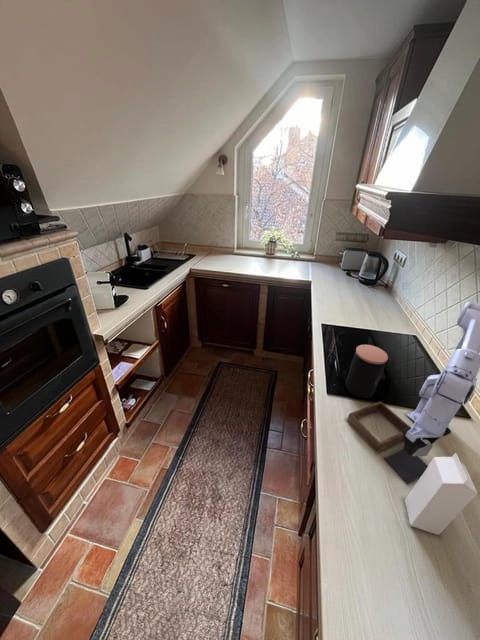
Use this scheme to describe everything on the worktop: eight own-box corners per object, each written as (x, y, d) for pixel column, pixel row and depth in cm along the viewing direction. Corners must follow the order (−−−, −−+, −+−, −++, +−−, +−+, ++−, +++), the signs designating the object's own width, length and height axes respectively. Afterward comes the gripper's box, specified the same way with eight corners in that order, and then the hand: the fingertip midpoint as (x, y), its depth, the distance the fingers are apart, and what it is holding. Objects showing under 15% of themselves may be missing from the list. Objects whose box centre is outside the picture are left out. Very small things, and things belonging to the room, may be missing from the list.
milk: (410, 526, 61) (449, 474, 50) (404, 499, 66) (439, 447, 55) (439, 535, 60) (486, 485, 49) (431, 508, 65) (472, 456, 54)
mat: (407, 447, 79) (407, 446, 79) (431, 470, 73) (431, 469, 73) (384, 459, 76) (384, 458, 76) (407, 484, 70) (407, 483, 69)
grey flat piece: (423, 450, 73) (434, 432, 69) (427, 455, 71) (439, 437, 67) (399, 450, 72) (409, 432, 68) (402, 456, 71) (413, 438, 67)
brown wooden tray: (377, 407, 93) (380, 401, 91) (409, 436, 83) (413, 429, 81) (346, 420, 88) (349, 413, 86) (376, 452, 78) (380, 445, 76)
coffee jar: (375, 402, 95) (390, 365, 86) (345, 395, 98) (356, 358, 89) (372, 383, 104) (385, 347, 95) (344, 377, 106) (355, 342, 97)
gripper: (439, 394, 69) (420, 427, 76) (403, 410, 64) (386, 443, 71) (468, 414, 64) (445, 447, 71) (430, 432, 59) (409, 466, 65)
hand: (417, 446), depth 70 cm, fingers closed on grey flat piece, 7 cm apart
